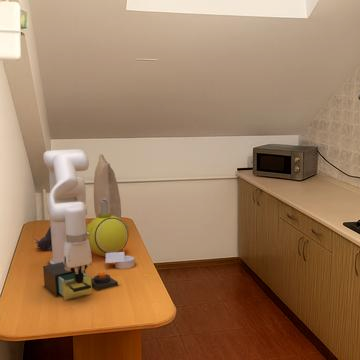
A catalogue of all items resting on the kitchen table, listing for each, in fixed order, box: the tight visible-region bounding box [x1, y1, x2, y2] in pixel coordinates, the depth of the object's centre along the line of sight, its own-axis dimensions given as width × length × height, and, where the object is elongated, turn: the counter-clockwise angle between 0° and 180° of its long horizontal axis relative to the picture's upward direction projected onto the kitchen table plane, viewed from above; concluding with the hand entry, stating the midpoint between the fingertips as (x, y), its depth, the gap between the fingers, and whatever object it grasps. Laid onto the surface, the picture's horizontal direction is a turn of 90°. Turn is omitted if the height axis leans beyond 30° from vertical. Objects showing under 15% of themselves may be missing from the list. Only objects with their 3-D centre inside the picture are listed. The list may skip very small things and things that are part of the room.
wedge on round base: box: [105, 251, 135, 270], centre depth 260 cm, size 9×7×13 cm
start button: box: [97, 271, 107, 278], centre depth 235 cm, size 4×4×2 cm
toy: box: [86, 197, 130, 258], centre depth 275 cm, size 23×22×30 cm
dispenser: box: [42, 262, 86, 297], centre depth 231 cm, size 15×13×9 cm
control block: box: [91, 273, 119, 291], centre depth 236 cm, size 11×9×4 cm
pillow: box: [93, 154, 122, 221], centre depth 317 cm, size 44×14×43 cm, turn 19°
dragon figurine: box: [34, 226, 52, 251], centre depth 290 cm, size 10×12×25 cm
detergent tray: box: [57, 272, 93, 300], centre depth 223 cm, size 18×11×7 cm, turn 38°
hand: (79, 282), depth 218 cm, fingers closed
